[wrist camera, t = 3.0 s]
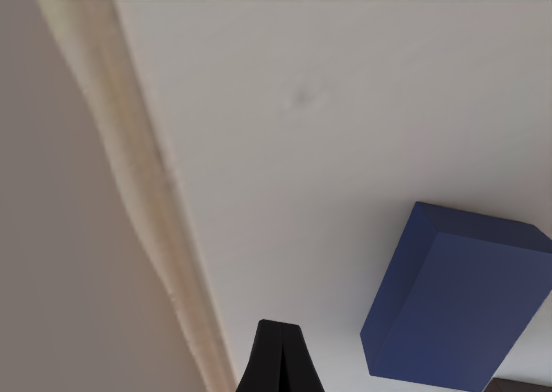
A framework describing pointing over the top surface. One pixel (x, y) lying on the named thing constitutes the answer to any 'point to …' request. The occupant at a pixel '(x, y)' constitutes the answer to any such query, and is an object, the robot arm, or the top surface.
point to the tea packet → (455, 297)
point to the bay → (514, 386)
